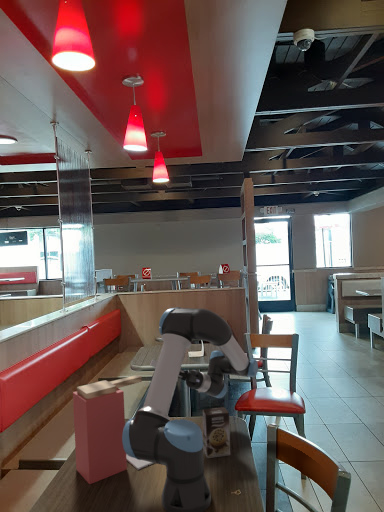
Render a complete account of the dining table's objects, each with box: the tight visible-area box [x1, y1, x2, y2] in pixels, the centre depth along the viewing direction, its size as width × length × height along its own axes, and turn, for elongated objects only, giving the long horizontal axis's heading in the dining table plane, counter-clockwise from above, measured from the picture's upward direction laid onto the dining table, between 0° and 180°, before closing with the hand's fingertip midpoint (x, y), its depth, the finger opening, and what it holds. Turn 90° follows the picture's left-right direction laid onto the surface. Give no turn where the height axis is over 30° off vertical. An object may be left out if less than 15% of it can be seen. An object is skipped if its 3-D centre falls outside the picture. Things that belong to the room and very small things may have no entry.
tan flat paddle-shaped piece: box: [76, 374, 143, 399], centre depth 146 cm, size 23×9×2 cm, turn 127°
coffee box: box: [202, 406, 231, 459], centre depth 151 cm, size 9×6×16 cm
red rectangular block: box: [72, 388, 128, 485], centre depth 143 cm, size 14×12×28 cm
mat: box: [126, 454, 154, 471], centre depth 157 cm, size 28×18×1 cm, turn 127°
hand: (160, 365), depth 158 cm, fingers open, 13 cm apart
